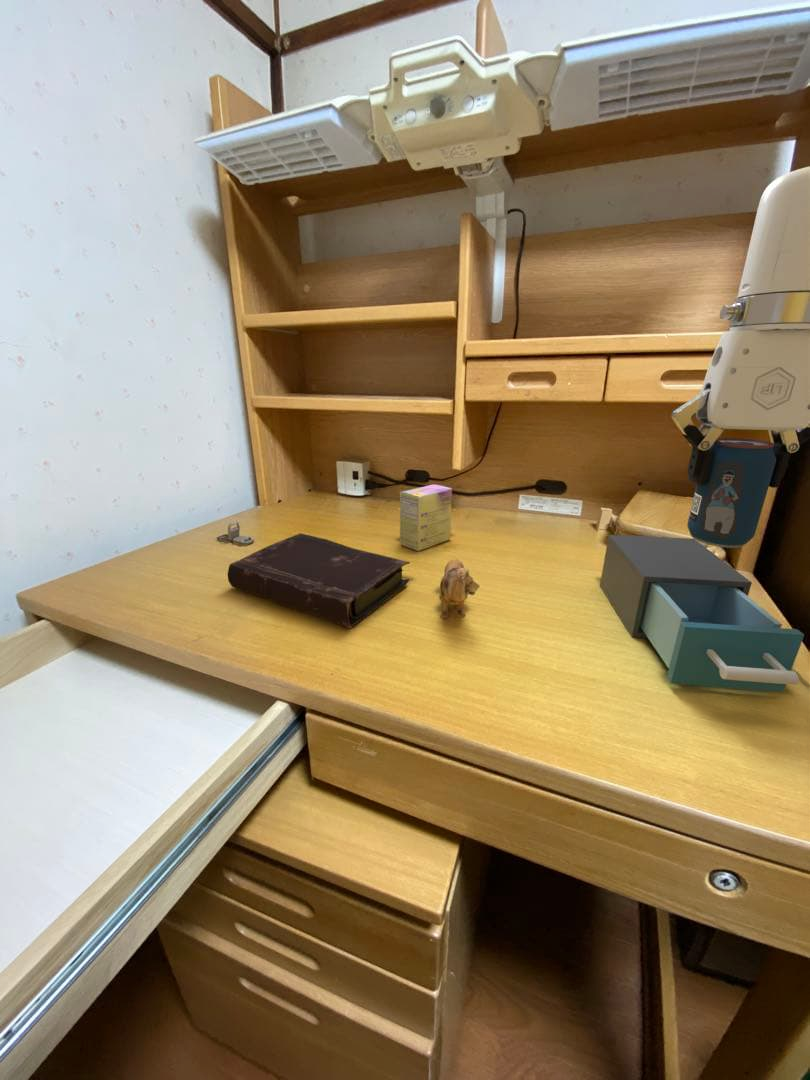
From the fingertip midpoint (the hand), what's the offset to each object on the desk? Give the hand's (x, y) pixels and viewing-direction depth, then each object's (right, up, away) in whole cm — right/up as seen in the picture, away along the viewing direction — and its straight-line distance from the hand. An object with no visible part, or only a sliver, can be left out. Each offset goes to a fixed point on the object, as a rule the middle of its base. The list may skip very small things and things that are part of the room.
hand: (732, 482), depth 54 cm
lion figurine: (-30, -18, +19) cm, 40 cm away
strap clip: (-75, -7, +46) cm, 89 cm away
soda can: (0, -7, +3) cm, 7 cm away
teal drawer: (0, -22, +5) cm, 23 cm away
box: (-34, -8, +46) cm, 58 cm away
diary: (-53, -15, +26) cm, 61 cm away
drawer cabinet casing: (+2, -18, +19) cm, 26 cm away
